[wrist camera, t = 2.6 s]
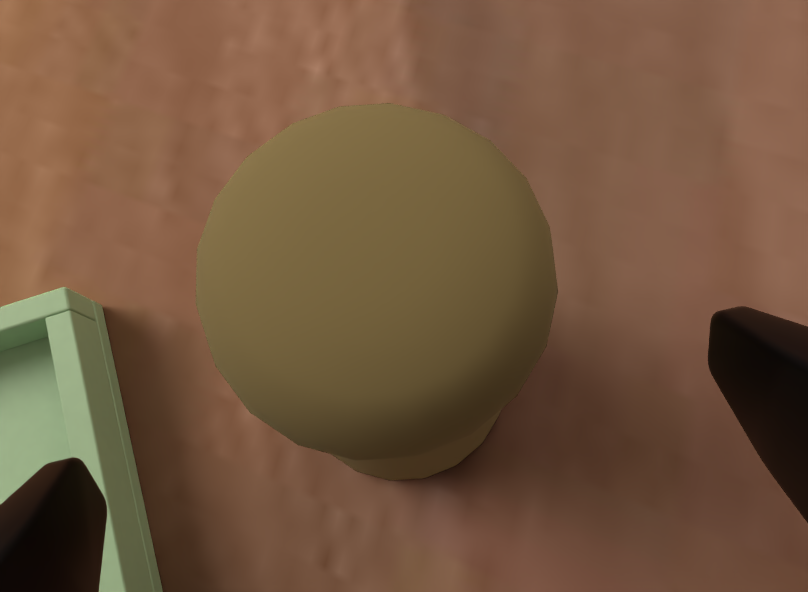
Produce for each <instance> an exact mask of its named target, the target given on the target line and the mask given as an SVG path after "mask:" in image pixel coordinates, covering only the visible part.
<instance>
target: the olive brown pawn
mask: <svg viewBox="0 0 808 592" xmlns="http://www.w3.org/2000/svg"><path fill="white" fill-rule="evenodd" d="M557 294H558V288H557V280H556V272H555V264H554V255H553V247H552V239H551V233H550V227H549V224H548V222H547V220H546V218H545V216H544V214H543V212H542V210H541V208H540V206H539V204H538V201H537V199H536V197H535V195H534V193H533V191H532V189H531V187H530V185H529V183H528V181H527V179H526V177H525V176H524V175H523V174H522V173H521V172H520V171H519V170H518V169H517V168H516V167H515V166H514V165H513V164H512V163H511V162H510V161H509V160H508V159H507V157H506V156H505V155H504V154H503V153H502V152H501V151H500V150H499V149H498V148H497V147H496V146H495V145H494V144H493V143H492V142H491V141H490V140H489V139H487V138H485V137H483V136H481V135H480V134H478V133H476V132H474V131H472V130H471V129H469V128H467V127H465V126H463V125H462V124H460V123H458V122H456V121H454V120H452V119H451V118H449V117H447V116H445V115H443V114H438V113H433V112H429V111H424V110H420V109H415V108H410V107H406V106H401V105H397V104H391V103H385V104H370V105H356V106H341V107H337V108H334V109H331V110H329V111H326V112H323V113H320V114H318V115H315V116H312V117H309V118H307V119H304V120H301V121H298V122H296V123H293V124H291V125H290V126H288V127H287V128H286V129H284V130H283V131H281V132H280V133H279V134H277V135H276V136H275V137H273V138H272V139H271V140H269V141H268V142H266V143H265V144H264V145H262V146H261V147H260V148H258V149H257V150H256V151H254V152H253V153H251V154H250V155H249V156H247V157H246V159H245V160H244V161H243V163H242V164H241V165H240V167H239V168H238V169H237V171H236V172H235V173H234V175H233V176H232V177H231V179H230V180H229V181H228V183H227V184H226V185H225V186H224V188H223V189H222V190H221V192H220V193H219V194H218V196H217V197H216V198H215V200H214V203H213V206H212V209H211V212H210V214H209V217H208V220H207V223H206V226H205V228H204V231H203V234H202V237H201V240H200V242H199V245H198V248H197V270H196V306H197V309H198V312H199V315H200V319H201V322H202V325H203V328H204V331H205V334H206V338H207V341H208V344H209V347H210V350H211V353H212V357H213V359H214V362H215V365H216V367H217V369H218V370H219V371H220V373H221V374H222V375H223V377H224V378H225V380H226V381H227V382H228V384H229V385H230V386H231V388H232V389H233V390H234V392H235V393H236V394H237V396H238V397H239V398H240V400H241V401H242V402H243V404H244V405H245V406H246V408H247V409H248V410H249V412H250V413H252V414H253V415H255V416H256V417H258V418H259V419H261V420H262V421H264V422H265V423H267V424H268V425H269V426H271V427H272V428H274V429H275V430H277V431H278V432H280V433H281V434H283V435H284V436H286V437H287V438H289V439H290V440H292V441H293V442H295V443H296V444H297V445H300V446H304V447H308V448H311V449H315V450H319V451H322V452H326V453H330V454H332V455H333V456H335V457H336V458H338V459H339V460H341V461H342V462H344V463H345V464H347V465H348V466H350V467H351V468H353V469H354V470H355V471H358V472H361V473H365V474H368V475H372V476H376V477H379V478H383V479H387V480H404V479H421V478H426V477H429V476H431V475H434V474H436V473H439V472H441V471H444V470H446V469H448V468H451V467H453V466H456V465H457V464H458V463H460V462H461V461H462V460H463V459H464V458H465V457H467V456H468V455H469V454H470V453H471V452H472V451H474V450H475V449H476V448H477V447H478V446H479V445H481V444H482V443H483V441H484V440H485V438H486V436H487V435H488V433H489V431H490V429H491V428H492V426H493V424H494V423H495V421H496V419H497V418H498V416H499V414H500V411H501V409H502V408H503V407H504V406H505V405H507V404H508V403H509V402H510V401H511V400H512V399H514V398H515V397H516V396H517V395H518V393H519V391H520V390H521V388H522V386H523V385H524V383H525V381H526V380H527V378H528V376H529V375H530V373H531V371H532V370H533V368H534V366H535V365H536V363H537V361H538V359H539V358H540V356H541V354H542V353H543V351H544V349H545V348H546V346H547V341H548V336H549V332H550V327H551V322H552V317H553V313H554V308H555V303H556V298H557Z"/></svg>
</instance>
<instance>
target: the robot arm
mask: <svg viewBox="0 0 808 592" xmlns="http://www.w3.org/2000/svg"><path fill="white" fill-rule="evenodd" d="M708 365H709V369H710V372H711V374H712V376H713V378H714V380H715V381H716V383H717V385H718V387H719V388H720V390H721V392H722V393H723V395H724V397H725V399H726V400H727V402H728V404H729V405H730V407H731V409H732V410H733V412H734V414H735V416H736V417H737V419H738V421H739V422H740V424H741V426H742V428H743V429H744V431H745V433H746V434H747V436H748V438H749V440H750V441H751V443H752V445H753V446H754V448H755V450H756V451H757V453H758V455H759V456H760V458H761V459H762V461H763V463H764V464H765V466H766V467H767V468H768V470H769V471H770V473H771V474H772V475H773V477H774V478H775V480H776V481H777V482H778V484H779V485H780V486H781V488H782V489H783V490H784V492H785V493H786V494H787V496H788V497H789V498H790V500H791V501H792V502H793V504H794V505H795V507H796V508H797V509H798V511H799V512H800V513H801V515H802V516H803V517H804V519H805V520H806V521H807V523H808V327H807V326H804V325H801V324H798V323H795V322H792V321H789V320H786V319H783V318H779V317H776V316H773V315H770V314H767V313H764V312H761V311H758V310H755V309H752V308H748V307H745V306H740V307H735V308H730V309H726V310H722V311H718V312H716V313H715V314H714V315H713V316H712V318H711V323H710V336H709V349H708ZM106 521H107V504H106V500H105V498H104V495H103V494H102V492H101V490H100V489H99V487H98V485H97V483H96V482H95V480H94V478H93V477H92V475H91V473H90V472H89V470H88V468H87V467H86V465H85V464H84V462H83V461H82V460H81V459H79V458H75V457H72V458H67V459H63V460H58V461H54V462H50V463H47V464H46V465H44V466H43V467H42V468H41V469H39V470H38V471H37V472H36V473H35V474H34V475H33V476H32V477H31V478H29V479H28V480H27V481H26V482H25V483H24V484H23V485H22V486H21V487H19V488H18V489H17V490H16V491H15V492H14V493H13V494H12V495H10V496H9V497H8V498H7V499H6V500H5V501H4V502H3V503H2V504H0V592H99V585H100V576H101V567H102V558H103V549H104V540H105V531H106Z"/></svg>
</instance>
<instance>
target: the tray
mask: <svg viewBox="0 0 808 592" xmlns="http://www.w3.org/2000/svg"><path fill="white" fill-rule="evenodd" d="M72 457H75V458H79V459H81V460H82V461H83V462H84V464H85V465H86V467H87V468H88V470H89V472H90V473H91V475H92V477H93V478H94V480H95V482H96V483H97V485H98V487H99V489H100V490H101V492H102V494H103V495H104V498H105V500H106V504H107V521H106V531H105V540H104V549H103V558H102V567H101V576H100V585H99V592H163V590H162V585H161V581H160V576H159V571H158V567H157V562H156V557H155V553H154V548H153V543H152V538H151V534H150V529H149V524H148V520H147V515H146V510H145V506H144V501H143V496H142V491H141V487H140V482H139V477H138V473H137V468H136V463H135V459H134V454H133V449H132V444H131V440H130V435H129V430H128V426H127V421H126V416H125V412H124V407H123V402H122V397H121V393H120V388H119V383H118V379H117V374H116V369H115V365H114V360H113V355H112V350H111V346H110V341H109V336H108V332H107V327H106V322H105V318H104V313H103V308H102V305H101V304H99V303H97V302H95V301H91V300H90V299H88V298H86V297H84V296H82V295H80V294H79V293H77V292H75V291H73V290H71V289H69V288H67V287H62V288H59V289H56V290H53V291H49V292H46V293H43V294H40V295H37V296H34V297H31V298H27V299H24V300H21V301H18V302H15V303H12V304H9V305H5V306H2V307H0V504H2V503H3V502H4V501H5V500H6V499H7V498H8V497H9V496H10V495H12V494H13V493H14V492H15V491H16V490H17V489H18V488H19V487H21V486H22V485H23V484H24V483H25V482H26V481H27V480H28V479H29V478H31V477H32V476H33V475H34V474H35V473H36V472H37V471H38V470H39V469H41V468H42V467H43V466H44V465H46V464H47V463H50V462H54V461H58V460H63V459H67V458H72Z"/></svg>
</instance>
